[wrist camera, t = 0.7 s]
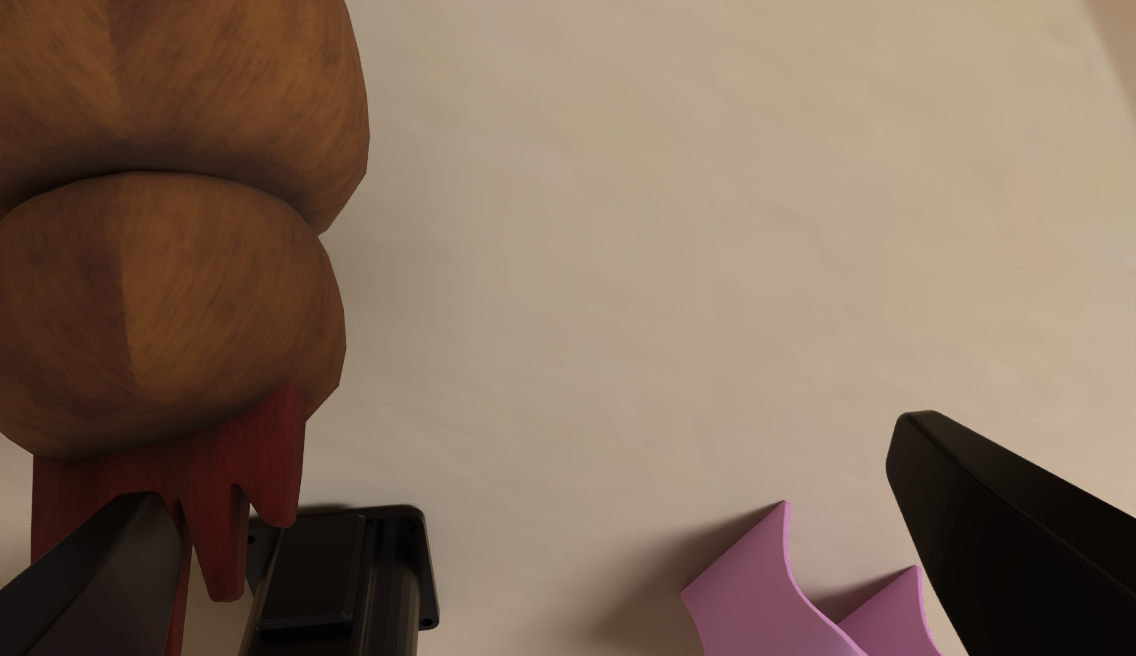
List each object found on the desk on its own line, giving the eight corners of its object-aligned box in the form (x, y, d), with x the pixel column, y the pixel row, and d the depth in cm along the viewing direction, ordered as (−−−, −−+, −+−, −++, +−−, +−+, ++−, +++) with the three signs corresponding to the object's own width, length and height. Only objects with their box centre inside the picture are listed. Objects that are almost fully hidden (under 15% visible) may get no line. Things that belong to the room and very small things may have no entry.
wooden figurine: (23, 25, 16) (-19, 800, 11) (-147, -274, 11) (-404, 898, 6) (342, 19, 18) (452, 676, 13) (319, -242, 13) (485, 664, 7)
